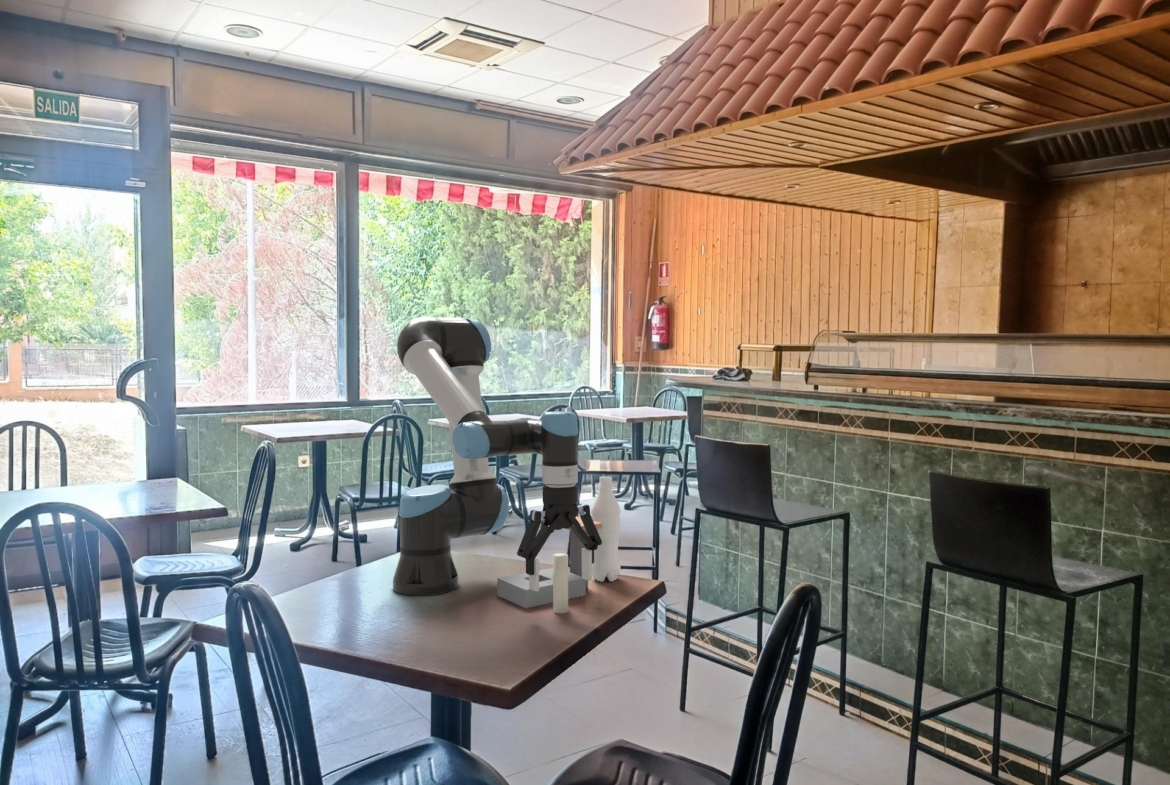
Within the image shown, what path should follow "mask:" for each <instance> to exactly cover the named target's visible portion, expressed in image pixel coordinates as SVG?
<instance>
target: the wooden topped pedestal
mask: <svg viewBox="0 0 1170 785" xmlns="http://www.w3.org/2000/svg"><path fill="white" fill-rule="evenodd" d="M576 519H577V521H578V522H579V523H580V526H581V527H582V528H583V530H584V531H585V532H586V534H587V531H586V529H585V527H584V524H583V522H582V520H581V518H580V516H578V515H577V516H576ZM544 520H545V519H544V518H543V520H542V523H543V522H544ZM593 522H594V524H595V526H596V529H601V528H602V523H600V522H596V521H593ZM563 529H565V530H567V531H568V530H569V572H570V573H573V574H576V575H578V576H581V577H582V548H586V547H585V546H584V545H583V544H582V542H581V541H580V540H579V538H578V537H577V536H576V535H575V533H574V532H573V531H572V530H571V528H570V527H569V528H567V529H566V528H563ZM587 535H588V534H587ZM586 589H589V581H588V580H586Z"/></svg>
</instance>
